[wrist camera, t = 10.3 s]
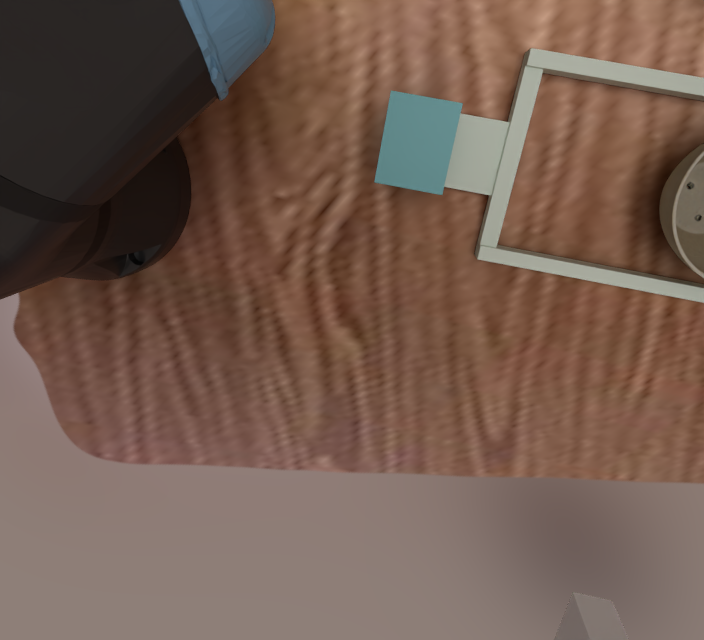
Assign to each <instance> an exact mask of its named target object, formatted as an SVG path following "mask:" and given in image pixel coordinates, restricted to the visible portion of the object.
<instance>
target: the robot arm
mask: <svg viewBox="0 0 704 640" xmlns="http://www.w3.org/2000/svg"><path fill="white" fill-rule="evenodd" d="M274 28H275V10H274V5H273V2H272V0H0V299H3V298H5V297H8V296H11V295H13V294H16V293H19V292H21V291H24V290H26V289H29V288H32V287H34V286H37V285H40V284H42V283H45V282H47V281H50V280H53V279H55V278H58V277H68V278H77V279H86V280H111V279H118V278H122V277H125V276H129V275H131V274H134V273H136V272H138V271H140V270H143V269H145V268H147V267H149V266H151V265H153V264H154V263H156V262H157V261H159V260H160V259H161V258H162V257H163V256H165V255H166V254H167V253H168V252H169V251H170V249H171V248H172V247H173V246H174V244H175V243H176V241H177V240H178V238H179V237H180V235H181V233H182V231H183V228H184V226H185V223H186V220H187V217H188V213H189V207H190V198H191V185H190V176H189V170H188V166H187V162H186V159H185V155H184V153H183V150H182V148H181V145H180V143H179V141H178V139H177V136H178V135H179V134H180V133H181V132H182V131H183V130H184V129H185V128H186V127H187V126H188V125H189V124H190V123H191V122H193V121H194V120H195V119H196V118H197V117H198V116H199V115H200V114H201V113H202V112H203V111H204V110H205V109H206V108H207V107H209V106H210V105H211V104H212V103H213V102H214V101H215V100H216V99H217V98H218V99H219V100H221V101H222V100H223V99H225V98H226V96H227V95H228V89H229V87H230V86H231V85H232V84H233V83H234V82H235V81H236V80H237V79H238V78H239V77H240V76H241V75H242V74H243V72H244V71H245V70H246V69H247V68H248V67H249V66H250V65H251V64H252V63H253V62H254V61H255V60H256V59H257V58H258V57H259V56H260V55H261V54H262V53H263V52H264V51H265V49H266V48H267V46H268V45H269V43H270V41H271V39H272V37H273V33H274ZM554 640H629V638H628V636H627V634H626V632H625V629H624V627H623V625H622V622H621V620H620V618H619V616H618V613H617V611H616V609H615V606H614V604H613V602H612V601H611V600H607V599H603V598H598V597H593V596H589V595H584V594H579V593H575V592H573V593H572V595H571V598H570V601H569V603H568V606H567V608H566V611H565V614H564V616H563V618H562V621H561V623H560V626H559V629H558V631H557V633H556V636H555V639H554Z"/></svg>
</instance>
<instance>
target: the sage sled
mask: <svg viewBox="0 0 704 640" xmlns="http://www.w3.org/2000/svg"><path fill="white" fill-rule="evenodd" d="M542 73H546V74H551V75H557V76H563V77H569V78H574V79H580V80H586V81H591V82H597V83H603V84H608V85H614V86H620V87H626V88H631V89H637V90H643V91H648V92H654V93H660V94H666V95H671V96H677V97H683V98H688V99H694V100H700V101H704V78H701V77H695V76H690V75H684V74H678V73H672V72H666V71H661V70H655V69H649V68H643V67H638V66H632V65H626V64H620V63H614V62H609V61H603V60H597V59H591V58H586V57H580V56H574V55H568V54H562V53H557V52H551V51H545V50H539V49H534V48H531V49H529V50H528V51H527V52H526V53H525V55H524V59H523V63H522V67H521V71H520V75H519V79H518V83H517V87H516V91H515V95H514V99H513V103H512V107H511V111H510V115H509V118H508V122H505V121H499V120H494V119H488V118H483V117H477V116H472V115H466V114H460V113H461V109H462V104H463V103H458V102H452V101H447V100H441V99H435V98H430V97H424V96H419V95H413V94H408V93H402V92H396V91H391V93H390V99H389V104H388V110H387V115H386V121H385V126H384V132H383V137H382V143H381V148H380V154H379V159H378V165H377V170H376V176H375V181H374V182H375V183H380V184H386V185H391V186H396V187H402V188H407V189H412V190H418V191H423V192H428V193H434V194H439V195H442V194H443V189H444V187H448V188H453V189H458V190H464V191H469V192H474V193H480V194H485V195H489V198H488V202H487V206H486V210H485V214H484V218H483V222H482V226H481V230H480V234H479V237H478V241H477V245H476V249H475V253H474V254H475V256H476V258H477V259H479V260H484V261H490V262H495V263H500V264H505V265H510V266H516V267H521V268H526V269H531V270H536V271H542V272H547V273H552V274H557V275H562V276H568V277H573V278H578V279H583V280H588V281H594V282H599V283H604V284H609V285H614V286H620V287H625V288H630V289H635V290H640V291H646V292H651V293H656V294H661V295H666V296H672V297H677V298H682V299H687V300H692V301H698V302H703V303H704V284H700V283H695V282H690V281H685V280H679V279H674V278H669V277H664V276H658V275H653V274H648V273H643V272H637V271H632V270H627V269H622V268H616V267H611V266H606V265H601V264H595V263H590V262H585V261H580V260H574V259H569V258H564V257H559V256H553V255H548V254H543V253H538V252H532V251H527V250H522V249H517V248H511V247H506V246H501V245H497V243H498V239H499V236H500V232H501V228H502V224H503V221H504V217H505V213H506V209H507V205H508V202H509V198H510V194H511V190H512V187H513V183H514V179H515V175H516V171H517V168H518V164H519V160H520V156H521V153H522V149H523V145H524V141H525V137H526V134H527V130H528V126H529V122H530V119H531V115H532V111H533V107H534V103H535V100H536V96H537V92H538V88H539V85H540V81H541V77H542Z"/></svg>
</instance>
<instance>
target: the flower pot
mask: <svg viewBox="0 0 704 640" xmlns="http://www.w3.org/2000/svg"><path fill="white" fill-rule="evenodd" d="M687 186H689V187H690V189H688V188H687ZM659 215H660V222H661V226H662V229H663V232H664V235H665V237H666V239H667V241H668V243H669V245H670V246H671V248H672V249H673V251H674V252H675V253H676V255H677V256H678V257H679V258H680V259H681V260H682V261H683V263H684V264H686V265H687V266H688V267H689V268H690V269H691V270H692V271H694V272H695V273H697V274H698V275H699V276H701V277H702V278H704V143H703V144H701V145H700V146H698V147H697V148H696V149H694V150H693V151H692V152H691V153H690V154H688V155H687V156H686V157H685V158H684V159H683V160H682V161H681V162H680V163H679V164H678V165H677V167H676V168H675V169H674V170H673V172H672V173H671V175H670V176H669V178H668V180H667V182H666V183H665V186H664V188H663V191H662V194H661V198H660V206H659ZM700 216H701V219H700V220H699V219H698V218H699V217H700Z"/></svg>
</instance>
